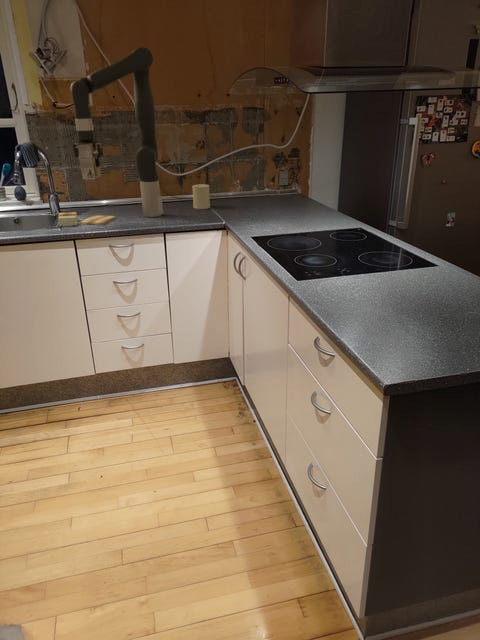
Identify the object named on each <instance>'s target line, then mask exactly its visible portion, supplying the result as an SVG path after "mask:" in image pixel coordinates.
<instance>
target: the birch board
mask: <svg viewBox="0 0 480 640" xmlns="http://www.w3.org/2000/svg"><path fill="white" fill-rule="evenodd" d="M116 218H117V217H116V215H91V216H90V217H87V218H85V219H84V220H82V221H80V222H79V224H80V225H90V224H95V225H96V226H104V225H106V224H108V223H110V222H112V221H114V220H115V219H116Z"/></svg>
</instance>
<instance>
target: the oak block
mask: <svg viewBox="0 0 480 640" xmlns="http://www.w3.org/2000/svg"><path fill="white" fill-rule="evenodd" d="M59 216H77V217H78V213H77V211H73V212H69V211H68V212H59V213H58V216H57V218H58V217H59ZM77 220H79V219H78V218H77Z"/></svg>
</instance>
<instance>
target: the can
mask: <svg viewBox="0 0 480 640" xmlns="http://www.w3.org/2000/svg"><path fill="white" fill-rule="evenodd" d="M191 189H192V199H193V200H192V201H193V202H192V205H193V209H195V210H206V209H210V208H211V203H210V201H211V200H210V198H211V197H210V185H209V184H203V183H201V184H199V183H198V184H194V185H192V188H191Z"/></svg>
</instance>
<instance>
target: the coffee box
mask: <svg viewBox="0 0 480 640" xmlns="http://www.w3.org/2000/svg"><path fill="white" fill-rule="evenodd" d="M95 143H96V144H97V141H95ZM77 146H78V152H79V158H78V160H79V159H80V160H79V165H80V169H81V177H82V180H96V179H98V178H100V177H102V173H101V171H102V170H101V165H100V166H99V167H96V163H95V157H94V153H93V152H95V149H96V151H97V153H98V149H97V147H95V148H93V143H88V142H85V143H79V142H78V143H77Z"/></svg>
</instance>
